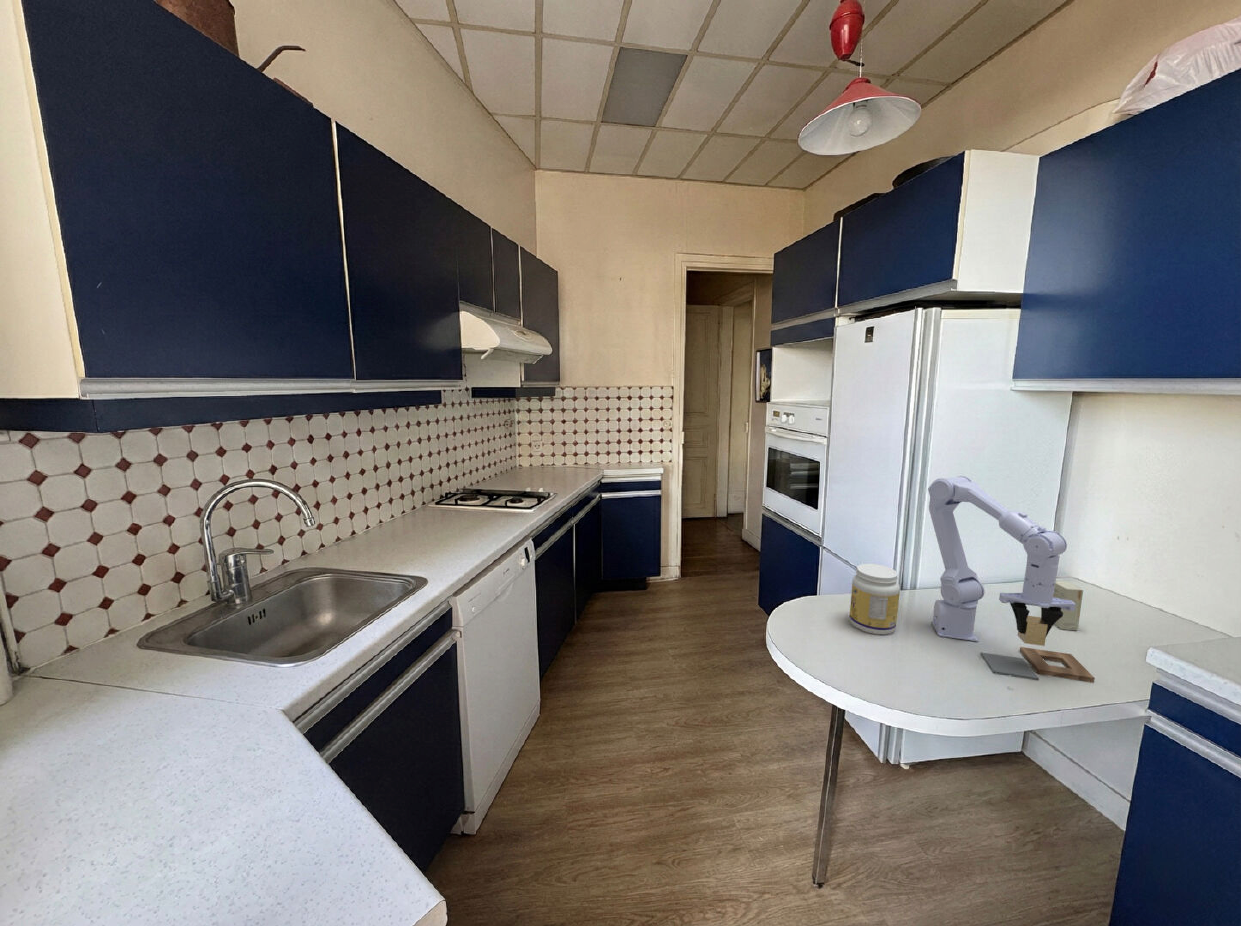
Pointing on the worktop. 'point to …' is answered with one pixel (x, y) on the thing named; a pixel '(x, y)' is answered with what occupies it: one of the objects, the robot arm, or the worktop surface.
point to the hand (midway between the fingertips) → (1031, 633)
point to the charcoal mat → (1009, 666)
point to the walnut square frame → (1071, 671)
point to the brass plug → (1034, 631)
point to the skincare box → (1074, 594)
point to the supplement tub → (875, 599)
